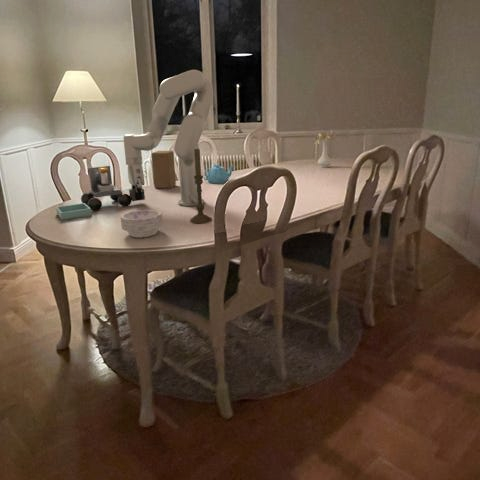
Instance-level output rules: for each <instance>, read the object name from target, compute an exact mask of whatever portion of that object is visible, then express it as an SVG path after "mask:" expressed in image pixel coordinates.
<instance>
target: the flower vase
mask: <svg viewBox="0 0 480 480" xmlns="http://www.w3.org/2000/svg"><path fill="white" fill-rule="evenodd" d="M334 132H335V131H334V130H332V129H330V133H329V131H328V130H325V131H324V129H321V130H320V132H319V133H318V135H317V134H316V133H314V136H312V137H311V139H312V140H314V142H313V144H314V145H316V144H318V145H320V140H322V153H321V156H320V157H319V159H318V160H317V164H318V165H319V168H323V169H325V168H330V165H331V164H332V160H331V158H330V157H329V155H328V143H329V141H330V142H332V141H333V142H334V143H335V142H336V140H337V136H338V135H337V134H335V133H334Z"/></svg>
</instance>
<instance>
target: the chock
mask: <svg viewBox="0 0 480 480" xmlns="http://www.w3.org/2000/svg"><path fill="white" fill-rule="evenodd" d="M135 192H136V190H135V189H132V188H129V189H128V193H129V194H128V195H129V196H130V197H131V200H132V201H131V202H137V201H136V197H135ZM142 198H143V200H142V201H145V199H146V197H145V189H144V188H142Z"/></svg>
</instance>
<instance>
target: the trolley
mask: <svg viewBox="0 0 480 480" xmlns="http://www.w3.org/2000/svg"><path fill="white" fill-rule="evenodd" d="M99 168H108V171H107V176H108V184H109V185H107V186H102V182H101V174H100V172H99ZM87 169H88V175H89V176H88V177H89V183H90V188H89V189H88V192H85V193H83V194H82V195H81V198H80V200H81V202H82V203H85V204H86V205H87V206H88V207H90V208H91V212H98V211H100V210H101V208H103V207H102V206H103V203H102V201H101V200H100V198H101V197H110V199H111V200H112V201H114V202H118V204H119V205H120V206H122V207H124V206H126V207H129V206H130V205H131V204H132V202H133V201H132V200H131V197H130V194H127V193H123V192H122V189H120V188H119V187H117V186H115V185H114V184H113V182H112V181H113V179H112V174H111V166H110V165H103V166H94V167H88V168H87Z"/></svg>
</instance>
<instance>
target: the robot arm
mask: <svg viewBox="0 0 480 480" xmlns="http://www.w3.org/2000/svg"><path fill="white" fill-rule="evenodd" d="M213 88H214V87H213V85H212V82H211V80H210V79H209V78H208V77H207V75H206V74H205V73H204V72H202V71H200V70H198V69H191V70H187V71H185V72H182V73H180V74H178V75H174V76H172V77H169V78H166V79H164V80H163V81H161V83H160V85H159V94H158V97H157V99H156V100H155V101H156V102H154V103H155V104H154V105H153V107H152V111H151V112H152V113H151V114H152V117H151V122H150V124H149V126H148V129H147V131H146V133H144V134H137V133H127V134H125V135H124V136H123V148H124V156H125V157H124V158H125V165H126V166H127V177H128V178H127V179H128V183H129V184H130V187H131V188H130V189H135V190H136V192H135V197H136V201H135V202H138V201H144V200H143V198H142V189H143V186H145V185H146V183H145V174H144V168H143V155H142V151H146V152H149V151H152V150H154V149H156V148H157V147H158V146H159V144H160V143H161V140H162V138H163V137H164V134H165V132H166V129H167V126H168V124H169V122H170V120H171V118H172V115H173V112H175V111H174V110H175V107H176V106H177V105H178V102H179V100H180V98H181V97H183V96H186V95H188V94H190V93H194V96H193V100H192V101H191V104H190V108H189V111H188V114H187V115H186V116H185V117H184V118H183V120H182V121H181V124H180V126H179V131H178V134H177V137H176V138H175V139H176V140H175V142H174V143H175V144H174V153H175V155H176V156H177V158H178V173H179V174H178V175H179V187H180V188H179V189H180V196H181V197H180V199H179V200H178V201H177V203H178V205H179V206H183V207H194V206H195V207H196V205H198V192H197V184H195V178H194V176H196V171H195V154H194V149H200V146H199V142H200V139H201V136H202V133H203V132H204V130H205V128H206V123H207V120H208V117H209V115H210V110H211V106H212V104H213V100H214V89H213ZM197 147H198V148H197ZM201 201H202V204H203V205H204V204H205V199H204V198H202V200H201Z"/></svg>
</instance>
